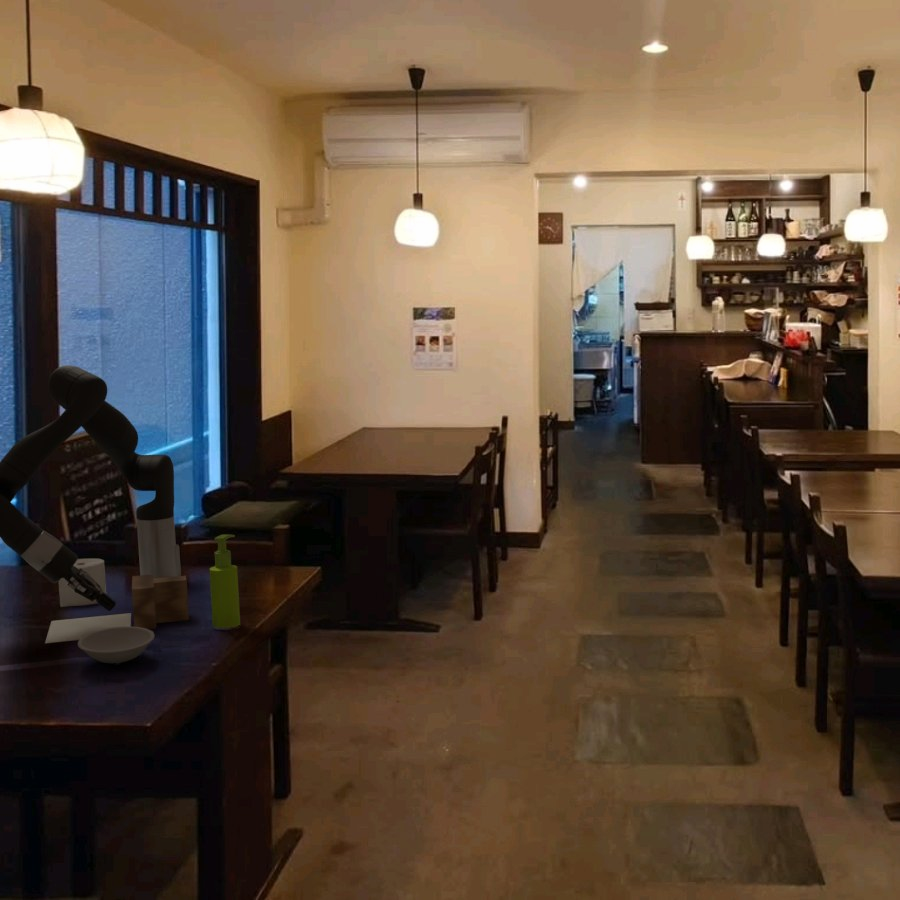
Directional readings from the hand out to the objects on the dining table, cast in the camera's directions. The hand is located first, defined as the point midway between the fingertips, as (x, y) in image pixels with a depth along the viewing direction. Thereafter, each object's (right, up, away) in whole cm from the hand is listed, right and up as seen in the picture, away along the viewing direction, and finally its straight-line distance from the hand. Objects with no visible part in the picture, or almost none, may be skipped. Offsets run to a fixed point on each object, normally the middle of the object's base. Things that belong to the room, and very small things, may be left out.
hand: (113, 607), depth 234 cm
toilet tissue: (-15, -3, +25) cm, 29 cm away
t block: (+9, -4, +4) cm, 11 cm away
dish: (+8, -8, -23) cm, 25 cm away
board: (+1, -5, +2) cm, 5 cm away
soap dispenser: (+25, -5, +1) cm, 25 cm away
